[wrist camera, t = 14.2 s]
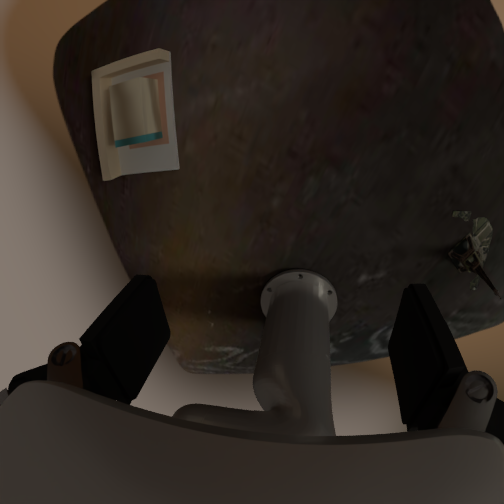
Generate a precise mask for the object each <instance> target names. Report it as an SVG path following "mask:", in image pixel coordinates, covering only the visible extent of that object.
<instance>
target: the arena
mask: <svg viewBox="0 0 504 504" xmlns="http://www.w3.org/2000/svg"><path fill="white" fill-rule="evenodd" d="M138 77H143V78H151V79H158V92H159V104H160V116H161V126H162V135H163V138H160V139H156V140H152V141H148V142H144V143H138V144H132V145H127V146H122V147H117V148H116V147H115V140H114V132H113V123H112V113H111V102H110V88H109V86H112V85H115V84H118V83H121V82H124V81H128V80H131V79H134V78H138ZM92 91H93V106H94V118H95V127H96V136H97V144H98V152H99V158H100V165H101V171H102V177H103V181H107V180H112V179H114V178H116V177H119V176H121V175H127V174H136V173H145V172H155V171H166V170H178V169H180V168H179V159H178V149H177V139H176V129H175V117H174V105H173V90H172V73H171V52H169V51H166V50H163V49H160V48H158V49H154V50H151V51H147V52H144V53H141V54H137V55H134V56H131V57H128V58H125V59H122V60H119V61H116V62H114V63H111V64H108V65H106V66H103V67H101V68H98V69H96V70H93V71H92Z"/></svg>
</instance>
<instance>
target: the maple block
mask: <svg viewBox="0 0 504 504" xmlns="http://www.w3.org/2000/svg"><path fill="white" fill-rule="evenodd" d="M109 88H110V102H111V113H112V123H113V132H114V140H115V147H116V148H117V147H122V146H127V145H132V144H138V143H144V142H148V141H152V140H156V139H160V138H163V135H162V126H161V116H160V104H159V92H158V79H151V78H143V77H138V78H134V79H131V80H128V81H124V82H121V83H118V84H115V85H112V86H109Z"/></svg>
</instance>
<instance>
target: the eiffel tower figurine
mask: <svg viewBox="0 0 504 504" xmlns="http://www.w3.org/2000/svg"><path fill="white" fill-rule="evenodd" d="M470 215H471V212H466V211H453V215H452V217H460V218H464V220H465V221H469V218H470ZM472 221H473V222H474V224H473V237H472V236H471V234H470V232H469V233H468V234H467V235H466V236H465V237H464V238H463V239H462V240H461V241H460V242H459V243H458V244H457V245H456V246H455V247H454V248H453V249H452V250H451V251H450V252H449V253H448V255H449V257H450V258H451V260H452V261H453V263H454V264H455V266H456V268H457V269H458V271H459V272H460V273H461V272H464V271H468V272H469V273H470V272H471V271H472V272H474V273H475V274H476V275H477V277H476V278H475V279H474V280H473V281H472V282H471V283H470V290H476V289H477V286H478V283H479V280H480V277H481V278H482V279H483V280H484V281H485V282H486V283H487V284H488V285H489V287H490V288H491V289H492V290H493V291H494V293H495V295H496V296H497V295H498V296H499V293H498V290H496V289H495V287H494V286H493V284H492V283H491V281H490V280H489V278H488V277H487V275H486V274H485V272H484V271H483V267H484V264H485V261H486V257H487V254H488V250H489V246H490V242H491V238H492V233H493V229H492V227H491V225H490V223H489V220H487V219H486V218H484V217H483V218H480V217H479V218H477V219H476V220H475V219H474V220H472ZM471 262H472V263H471ZM499 297H500V296H499ZM500 299H501V298H500Z"/></svg>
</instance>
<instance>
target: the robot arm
mask: <svg viewBox="0 0 504 504" xmlns="http://www.w3.org/2000/svg"><path fill="white" fill-rule="evenodd" d="M300 274H301V275H300ZM261 308H262V311H263V313H264V315H265V317H266V321H265V326H264V330H263V335H262V339H261V344H260V348H259V353H258V357H257V362H256V366H255V370H254V375H253V389H254V393H255V395H256V398H257V400H258V402H259V403H260V405H261V407H262V408H263V410H264V411H255V410H254V411H251V410H250V411H249V410H242V409H234V408H227V407H220V406H213V405H206V404H189V405H185V406H183V407H181V408H179V409H178V410H177V411H176V412H175V413H174V415H173V416H172V417H170V416H166V415H163V414H159V413H155V412H151V411H148V410H144V409H141V408H138V407H134V406H131V405H130V403H131V401H132V400H134V399H136V397H137V396H138V394H139V392H140V390H141V389H142V387H143V385H144V383H145V381H146V380H147V377H148V376H149V374H150V372H151V371H152V369H153V367H154V365H155V363H156V362H157V360H158V358H159V356H160V355H161V353H162V351H163V349H164V347H165V345H166V344H167V342H168V340H169V338H170V328H169V325H168V322H167V319H166V316H165V312H164V309H163V306H162V302H161V299H160V295H159V292H158V288H157V285H156V282H155V280H153V279H152V277H151V276H149V275H136V276H134V278H133V279H132V280H131V281H130V282H129V283H128V284H127V285H126V286H125V287H124V288H123V289H122V291H121V292H120V293H119V294H118V295H117V296H116V297H115V298H114V299H113V301H112V302H111V303H110V304H109V305H108V306H107V307H106V308H105V309H104V311H103V312H102V313H101V314H100V315H99V317H97V319H96V320H95V321H94V322H93V323H92V324H91V326H90V327H89V328H88V329H87V330H86V332H85V333H84V334H83V335H82V336H81V337H80V341H81V343H82V345H81V346H80V347H79V346H78V345H77V344H76V343H74V342H65V343H62V344H60V345H58V346H57V347H55V348H54V349H53V350H52V351H51V353H50V355H49V357H48V364H46V365H42V366H39V367H37V368H34V369H31V370H28V371H26V372H22V373H20V374H18V375H16V376H14V377H13V378H12V380H11V382H10V384H9V388H8V390H7V389H6V388H5V389H4V390H2V391H1V392H0V504H504V402H503V401H501V400H499V399H498V398H497V386H496V384H495V382H494V380H493V379H492V378H491V376H489V375H488V374H486V373H485V372H482V371H471V372H468V370H467V368H466V365H465V363H464V360H463V358H462V356H461V353H460V351H459V349H458V347H457V344H456V342H455V340H454V338H453V336H452V334H451V331H450V329H449V327H448V325H447V323H446V322H445V320H444V318H443V316H442V315H441V313H440V311H439V309H438V307H437V305H436V303H435V301H434V299H433V297H432V295H431V294H430V292H429V290H428V288H427V286H426V285H425V284H410V285H409V286H408V288H405V289H404V291H403V295H402V299H401V303H400V306H399V310H398V314H397V317H396V321H395V324H394V328H393V331H392V334H391V337H390V340H389V345H388V351H389V356H390V360H391V365H392V370H393V374H394V379H395V384H396V390H397V395H398V400H399V406H400V413H401V419H402V423H403V424H406V425H407V432H400V433H390V434H376V435H358V436H357V435H356V436H336V434H335V428H334V422H333V415H332V404H331V373H330V372H331V369H330V335H329V321H330V320H331V319H332V317H333V316H334V314H335V312H336V308H337V295H336V292H335V289H334V287H333V286H332V284H331V283H330V282H329V281H328V280H327V279H326V278H325V277H323V276H322V275H320V274H318V273H316V272H314V271H310V270H304V269H293V270H288V271H284V272H281V273H279V274H277V275H276V276H274V277H273V278H271V279H270V280H269V281H268V282H267V284H266V285H265V287H264V288H263V292H262V295H261ZM116 400H117V401H116ZM417 430H418V431H417Z"/></svg>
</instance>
